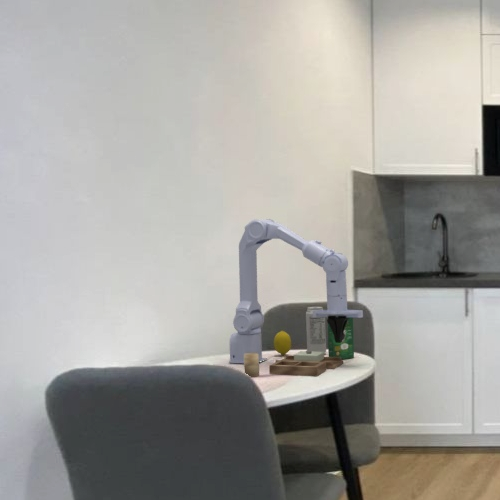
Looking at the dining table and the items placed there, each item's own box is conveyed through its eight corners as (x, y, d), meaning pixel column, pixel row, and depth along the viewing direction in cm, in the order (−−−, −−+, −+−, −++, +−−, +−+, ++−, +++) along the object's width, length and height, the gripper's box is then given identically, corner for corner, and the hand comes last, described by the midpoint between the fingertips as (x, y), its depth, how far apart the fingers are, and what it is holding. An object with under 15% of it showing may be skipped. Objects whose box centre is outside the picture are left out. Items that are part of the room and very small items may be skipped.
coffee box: (349, 356, 224) (348, 314, 223) (355, 358, 221) (353, 315, 221) (328, 360, 220) (326, 317, 219) (333, 361, 217) (331, 317, 217)
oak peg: (242, 376, 200) (241, 355, 200) (248, 373, 204) (247, 352, 203) (255, 377, 198) (254, 355, 198) (261, 374, 202) (260, 353, 202)
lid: (293, 362, 212) (293, 352, 211) (301, 358, 218) (300, 348, 217) (317, 362, 208) (317, 353, 208) (324, 358, 214) (324, 349, 214)
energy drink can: (324, 352, 233) (323, 306, 233) (327, 355, 227) (325, 308, 227) (306, 353, 233) (304, 306, 232) (308, 356, 227) (306, 308, 226)
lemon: (290, 357, 227) (289, 331, 227) (273, 357, 228) (272, 332, 228) (292, 354, 233) (291, 329, 232) (275, 354, 234) (274, 329, 233)
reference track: (273, 366, 213) (273, 360, 213) (285, 360, 221) (284, 355, 221) (334, 369, 205) (333, 362, 205) (343, 363, 213) (343, 357, 213)
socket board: (269, 374, 202) (269, 365, 202) (280, 368, 209) (279, 360, 209) (317, 376, 196) (316, 367, 196) (326, 370, 204) (325, 362, 204)
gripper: (308, 296, 208) (310, 343, 208) (357, 296, 202) (359, 345, 202) (316, 294, 214) (318, 340, 215) (364, 294, 208) (366, 341, 209)
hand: (338, 342), depth 209 cm, fingers closed
